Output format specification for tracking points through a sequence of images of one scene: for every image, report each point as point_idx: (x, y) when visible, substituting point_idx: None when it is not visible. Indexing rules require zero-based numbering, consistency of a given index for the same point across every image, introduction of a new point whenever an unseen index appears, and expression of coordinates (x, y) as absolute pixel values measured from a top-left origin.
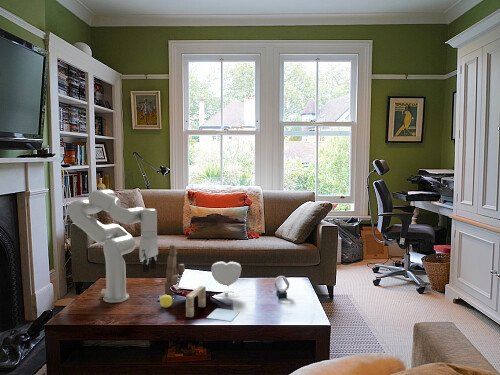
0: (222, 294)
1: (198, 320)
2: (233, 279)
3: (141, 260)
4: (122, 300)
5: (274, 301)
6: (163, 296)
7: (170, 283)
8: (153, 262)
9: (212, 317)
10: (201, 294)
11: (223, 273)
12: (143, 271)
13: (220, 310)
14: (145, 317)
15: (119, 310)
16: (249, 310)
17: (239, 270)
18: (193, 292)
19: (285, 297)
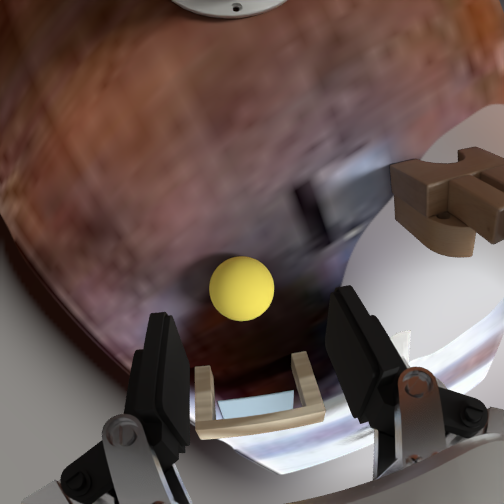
0: (400, 352)
1: (192, 395)
2: None
3: (50, 496)
4: (200, 13)
5: (367, 423)
6: (228, 303)
7: (425, 216)
8: (353, 396)
9: (226, 408)
10: (301, 398)
11: None
12: (153, 323)
13: (281, 401)
14: (101, 267)
15: (91, 100)
16: (305, 426)
17: None
18: (243, 430)
19: None
